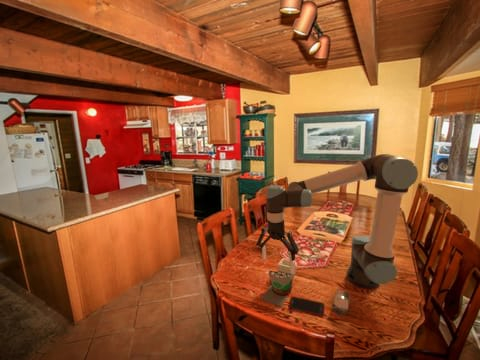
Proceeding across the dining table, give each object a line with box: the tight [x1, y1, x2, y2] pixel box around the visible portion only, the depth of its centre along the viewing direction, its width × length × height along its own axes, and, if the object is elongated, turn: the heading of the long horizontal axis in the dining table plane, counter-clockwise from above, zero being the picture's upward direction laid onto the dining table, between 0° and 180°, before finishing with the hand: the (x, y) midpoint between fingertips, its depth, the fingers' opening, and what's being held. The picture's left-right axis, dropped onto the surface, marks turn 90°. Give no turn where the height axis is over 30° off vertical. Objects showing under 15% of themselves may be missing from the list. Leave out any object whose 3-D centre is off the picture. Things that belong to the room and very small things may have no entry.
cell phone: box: [288, 296, 325, 318], centre depth 104 cm, size 8×15×1 cm, turn 68°
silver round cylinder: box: [331, 290, 351, 316], centre depth 102 cm, size 8×6×6 cm
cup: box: [277, 257, 296, 277], centre depth 126 cm, size 7×7×8 cm
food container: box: [268, 269, 295, 296], centre depth 112 cm, size 12×6×10 cm, turn 69°
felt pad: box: [260, 284, 294, 308], centre depth 114 cm, size 10×15×1 cm, turn 148°
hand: (277, 262), depth 110 cm, fingers open, 13 cm apart
